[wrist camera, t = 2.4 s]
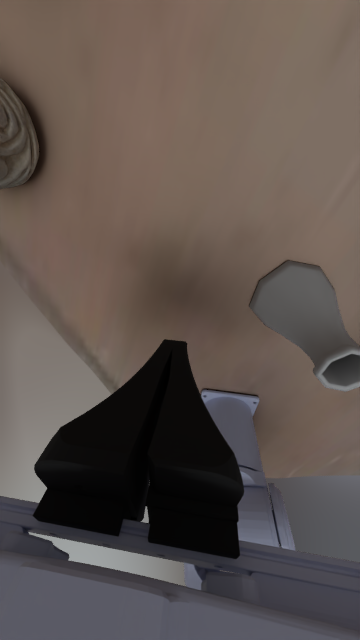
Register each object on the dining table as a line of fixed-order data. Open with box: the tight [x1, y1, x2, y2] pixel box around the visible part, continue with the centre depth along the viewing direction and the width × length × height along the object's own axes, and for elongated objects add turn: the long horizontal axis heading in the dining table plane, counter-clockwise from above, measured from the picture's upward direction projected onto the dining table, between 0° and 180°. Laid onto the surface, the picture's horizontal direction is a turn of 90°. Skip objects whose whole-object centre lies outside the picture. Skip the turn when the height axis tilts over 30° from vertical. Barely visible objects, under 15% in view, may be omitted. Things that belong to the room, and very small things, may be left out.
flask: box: [249, 260, 360, 392], centre depth 15 cm, size 7×7×10 cm
